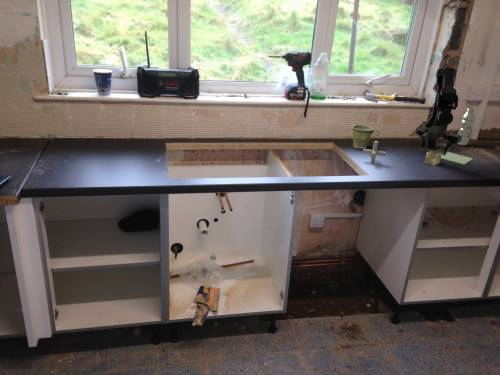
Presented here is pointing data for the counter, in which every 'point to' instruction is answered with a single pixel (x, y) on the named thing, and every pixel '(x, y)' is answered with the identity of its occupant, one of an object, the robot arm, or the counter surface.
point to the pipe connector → (374, 152)
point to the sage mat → (456, 158)
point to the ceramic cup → (362, 136)
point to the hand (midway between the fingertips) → (434, 152)
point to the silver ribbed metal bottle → (466, 125)
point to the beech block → (433, 157)
